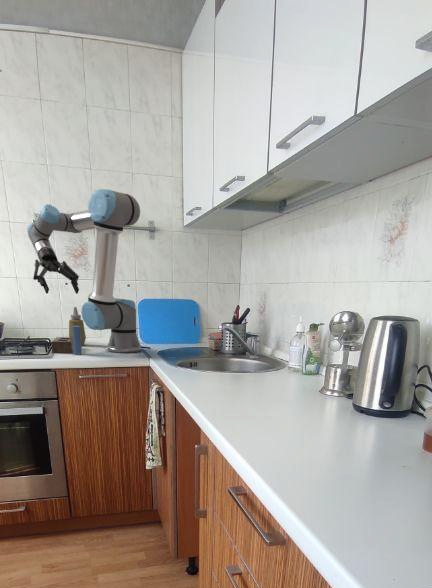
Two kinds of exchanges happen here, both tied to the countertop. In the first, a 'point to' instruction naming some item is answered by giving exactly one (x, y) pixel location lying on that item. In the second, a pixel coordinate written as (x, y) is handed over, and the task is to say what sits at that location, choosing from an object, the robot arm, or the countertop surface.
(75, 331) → the peg
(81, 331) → the squeeze bottle
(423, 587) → the countertop surface
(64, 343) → the peg stand
